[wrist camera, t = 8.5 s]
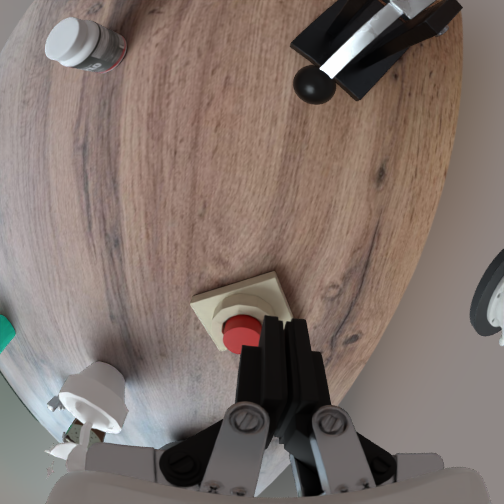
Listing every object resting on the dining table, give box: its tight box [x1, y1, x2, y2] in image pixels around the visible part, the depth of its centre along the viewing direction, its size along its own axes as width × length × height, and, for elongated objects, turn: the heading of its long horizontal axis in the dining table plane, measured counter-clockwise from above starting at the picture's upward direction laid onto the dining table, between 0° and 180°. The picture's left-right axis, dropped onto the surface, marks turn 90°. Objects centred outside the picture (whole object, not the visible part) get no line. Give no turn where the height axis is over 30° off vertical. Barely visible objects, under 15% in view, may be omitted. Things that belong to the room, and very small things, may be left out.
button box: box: [190, 271, 294, 351], centre depth 30 cm, size 10×8×4 cm
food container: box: [62, 418, 106, 448], centre depth 48 cm, size 12×6×10 cm, turn 33°
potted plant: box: [44, 361, 128, 478], centre depth 28 cm, size 13×12×25 cm
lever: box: [293, 0, 436, 105], centre depth 12 cm, size 13×3×3 cm
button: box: [223, 315, 262, 354], centre depth 28 cm, size 4×4×2 cm
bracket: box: [290, 0, 463, 101], centre depth 12 cm, size 11×8×13 cm
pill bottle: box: [45, 17, 127, 73], centre depth 15 cm, size 5×5×8 cm
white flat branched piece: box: [47, 395, 65, 411], centre depth 42 cm, size 7×2×8 cm, turn 160°
